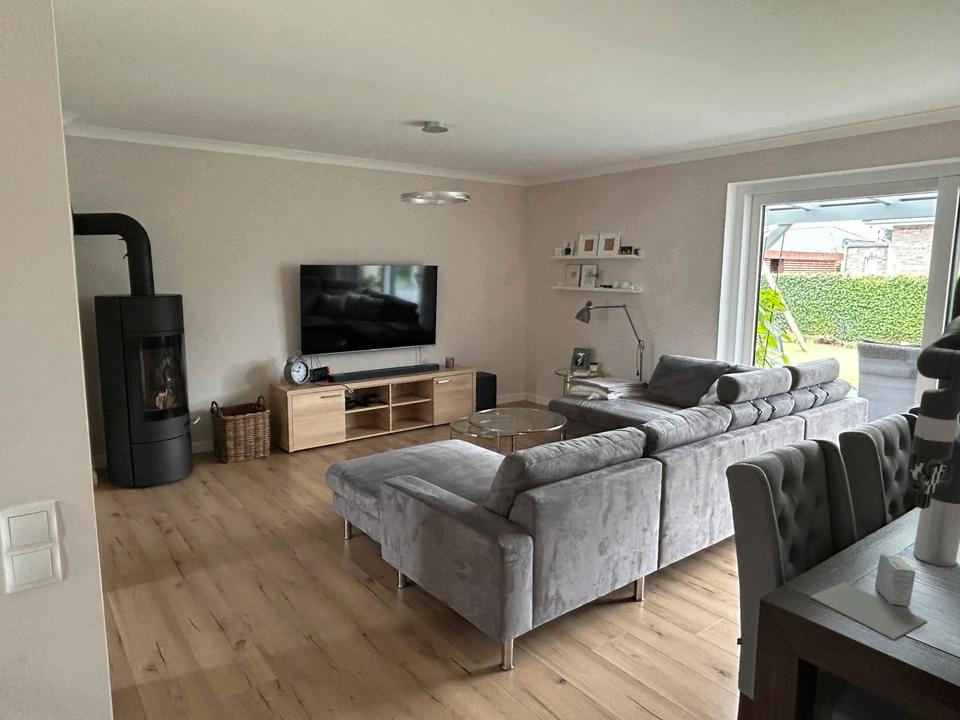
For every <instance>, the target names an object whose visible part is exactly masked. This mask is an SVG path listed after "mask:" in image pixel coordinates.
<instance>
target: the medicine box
mask: <svg viewBox="0 0 960 720" xmlns="http://www.w3.org/2000/svg"><path fill="white" fill-rule="evenodd" d="M915 578H916V571H915V570H914V569H913V568H912V567H911V566H910V565H909V564H908V563H907V562H906V561H905V559H903V558H902V557H901V556H897V555H891V554H880V555H879V561H878V567H877V572H876V578H875V583H874V588H875V589H876V590H877V591H878V592H879V593H880V594H881V596H882V597H883V598H884V599H885V601H886V602H888V603H890V604H892V605H895V606H902V607H910V606H911V602H912V601H911V600H912V595H913V590H914V589H913V588H914V582H915Z"/></svg>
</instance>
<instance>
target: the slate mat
mask: <svg viewBox="0 0 960 720" xmlns="http://www.w3.org/2000/svg"><path fill="white" fill-rule="evenodd" d="M809 598H810V599H813V600H814V601H816V602H818V603H820V604H822V605H824V606H826V607H827V608H829V609H832V610H833V611H836V612H837V613H840V614H841V615H843V616H846V617H847V618H849V619H852V620H853V621H855V622H857V623H859V624H861V625H863V626H865V627H867V628H869V629H871V630H873V631H875V632H877V633H878V634H881V635H883V636H884V637H886V638H889V639H890V640H892V641H896V640H897V639H898V638H900V637H902V636H904V635H907V634H908V633H910V632H912V631H913V630H916V629H917V628H918V626H919V627H920V625H921V626H922V624H923V625H924V624H926V623H927V622H928V620H927V619H924V618H923V617H921V616H918V615H916V614H914V613H911V612H910V611H908V610H905V609H903V608H901V607H899V606H898V605H895V604H890V603H889V602H888V601H887V600H884V599H881V598H879V597H878V596H875V595H874V594H871V593H870V592H867V591H865V590H862V589H860V588H858V587H856V586H854V585H852V584H849V583H847V582H845V581H844V582H841V583H838V584H836V585H834V586H831V587H829V588H827V589H824V590H821V591H820V592H817V593H815V594H813V595H810V596H809Z"/></svg>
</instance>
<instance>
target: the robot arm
mask: <svg viewBox="0 0 960 720" xmlns="http://www.w3.org/2000/svg"><path fill="white" fill-rule="evenodd" d="M916 369H917V371H918V373H919V374H920V375H921V376H923V377H924V378H928V379H933V380H934V379H935V380H939V381H938V385H937V386H938V387H937V388H930V389H925V390H924V391H923V392H922V395H921V399H920V405H919V411H918V414H917V415H918V416H917V419H916V422H915V427H914V433H913V439H912V445H911V452H912V454H915V455H916V456H917V461H916V462H915V464H914V465H915V467H914V468H915V469H914V470H912V469H910V470H909V471H908V476H909V482H910V486H911V490H912V491H913V490H914V491H916V494H915V495H916V496H915V499H914V500H915V501H914V507H916V508H919V509H920V511H919V515H918V522H917V528H916V534H915V540H914V544H913V545H914V546H913V551H912V553H913V555H914V557H915V558H917V559H919V560H921V561H923V562H926V563H928V564H930V565H935V566H940V567H945V568H946V567H954V566H956V562H957V558H958V552H959V548H960V438H958V437H956V434H957V419H958V415H959V414H960V276H959V277H958V278H957V281H956V284H955V287H954V294H953V301H952V309H951V318H950V322H949V323H948V325H947V326H946V328H945V329H944V331H943V333H942V334H941V336H939V338H938V339H936V340H934V341H933V342H931V343H930V344H929V345H927V346H926V347H925V348H924V349H923V350H922V351H921V352H920V354H919V356H918V358H917V361H916ZM946 473H948V474H951V475H950V478H949V480H943V478H944V476H945V474H946Z"/></svg>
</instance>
